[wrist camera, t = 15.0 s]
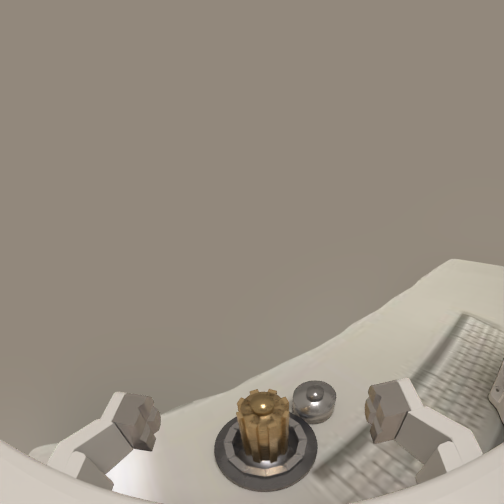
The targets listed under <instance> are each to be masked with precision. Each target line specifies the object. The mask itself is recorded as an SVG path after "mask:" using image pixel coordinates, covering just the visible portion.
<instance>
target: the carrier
mask: <svg viewBox="0 0 504 504" xmlns="http://www.w3.org/2000/svg"><path fill="white" fill-rule="evenodd" d="M214 452H215V458H216V461H217V463H218V466H219V468H220V470H221V471H222V473H223V474H224V475H225V476H226V477H227V478H228V479H229V480H230V481H231V482H233V483H234V484H236V485H238V486H240V487H242V488H245V489H248V490H252V491H258V492H270V491H277V490H281V489H284V488H287V487H290V486H292V485H294V484H295V483H297V482H299V481H300V480H301V479H302V478H304V477H305V476H306V474H307V473H308V472H309V471H310V469H311V468H312V466H313V464H314V462H315V458H316V454H317V440H316V436H315V434H314V432H313V430H312V428H311V427H310V426H309V425H308V424H307V423H306V422H305V421H304V420H303V419H301V418H300V417H298V416H297V415H295V414H292V413H290V412H289V433H288V450H287V452H286V454H285V455H283V454H281V455H280V456H279V457H278V461H277V462H274V463H270V461H261V463H257V462H254V461H253V457H252V456H251V455H246V454H245V451H244V448H243V443H242V439H241V434H240V429H239V424H238V419H237V417H235V418H234V419H232V420H231V421H229V422H228V423H227V424H226V425H225V426H224V427H223V428H222V430H221V431H220V433H219V434H218V436H217V439H216V442H215V449H214Z"/></svg>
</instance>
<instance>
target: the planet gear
mask: <svg viewBox="0 0 504 504" xmlns="http://www.w3.org/2000/svg"><path fill="white" fill-rule="evenodd" d="M237 405H238V411H239V412H236V415H237V419H238V424H239V429H240V434H241V439H242V443H243V448H244V451H245V454H246V455H251V456H252V457H253V461H254V462H257V463H261V461H270V463H274V462H277V461H278V457H279V456H280V455H281V454H283V455H285V454H286V452H287V450H288V433H289V402H288V400H287V399H286V397H283V398H280V397H279V396H278V395H277V391H275V390H271V389H269V390H268V392H259V391H258V389H257V390H253V391H250V396H248V397H247V398H246V399H244V398H240V400H239V401H238V403H237Z"/></svg>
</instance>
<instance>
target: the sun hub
mask: <svg viewBox="0 0 504 504" xmlns="http://www.w3.org/2000/svg"><path fill="white" fill-rule="evenodd" d="M335 401H336V392H335V390H334V389H333V387H332V386H330V385H329V384H327V383H325V382H322V381H308V382H305V383H302V384H301V385H299V386H298V387H297V388H296V389H295V391H294V394H293V413H294V414H295V415H297V416H298V417H300V418H301V419H303V420H304V421H305V422H306V423H307V424H318V423H322V422H324V421H326V420H327V419H328V418H330V416H331V415H332V413H333V409H334V405H335Z"/></svg>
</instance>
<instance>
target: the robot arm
mask: <svg viewBox="0 0 504 504" xmlns="http://www.w3.org/2000/svg"><path fill="white" fill-rule="evenodd" d="M368 394H369V396H370V397H369V398H368V399H367V400H366V403H365V415H366V420H367V422H368V423H369V424H371V425H372V426H371V429H370V433H371V436H372V439H373V443H374V444H377V443H382V442H386V441H390V440H395V441H396V442H397V443H398V444H399V445H400V446H402V447H403V448H404V449H405V450H406V451H408V452H409V453H410V454H411V455H413V456H414V457H415V458H416V459H417V460H419V461H420V462H421V463H422V464H424V466H423V467H422V469H421V470H420V471H419V472H418V474H417V475H416V477H415V479H416V482H417V485H414V486H411V487H408V488H405V489H402V490H399V491H396V492H392V493H389V494H386V495H382V496H378V497H374V498H370V499H366V500H362V501H357V502H353V503H348V504H504V442H503V443H502V444H500V445H498V446H497V447H495V448H493V449H492V450H490V451H488V452H487V453H485V454H483V452H482V450H481V448H480V446H479V444H478V442H477V440H476V438H475V437H474V435H473V433H472V431H471V430H470V429H468V428H466V427H464V426H462V425H461V424H459V423H457V422H455V421H453V420H451V419H450V418H448V417H446V416H444V415H442V414H441V413H439V412H437V411H435V410H433V409H432V408H430V407H428V406H426V407H424V406H423V404H422V402H421V400H420V398H419V396H418V394H417V392H416V390H415V388H414V386H413V385H412V383H411V381H410V379H409V378H408V377H407V378H403V379H399V380H393V381H389V382H385V383H380V384H376V385H371V386H370V387H369V391H368ZM488 398H489V400H490V402H491V403H492V404H493V405H494V406H495V407H496V408H497V410H498V412H499V415H500V418H501V420H502V422H503V424H504V360H503V362H502V365H501V367H500V370H499V372H498V375H497V377H496V379H495V382H494V384H493V386H492V388H491V391H490V393H489V395H488ZM153 404H154V401H153V399H152V397H150V396H144V395H137V394H130V393H123V392H115V393H114V394H113V396H112V398H111V400H110V402H109V404H108V405H107V407H106V409H105V411H104V413H103V415H102V417H101V419H97V420H95V421H93V422H92V423H91V424H89V425H87V426H85V427H84V428H82V429H81V430H79V431H77V432H76V433H74V434H72V435H71V436H69V437H68V438H66V439H64V440H62V441H61V442H59V443H58V444H57V446H56V447H55V449H54V451H53V453H52V455H51V457H50V459H49V460H48V462H47V464H46V465H45V464H43V463H41V462H39V461H37V460H35V459H34V458H32V457H30V456H28V455H26V454H24V453H23V452H21V451H19V450H17V449H15V448H14V447H12V446H11V445H9V444H7V443H6V442H4V441H3V440H1V439H0V504H162V503H157V502H152V501H148V500H143V499H139V498H135V497H131V496H128V495H124V494H120V493H117V492H114V491H112V488H113V485H114V484H113V482H112V481H111V480H110V479H109V478H108V477H107V476H106V475H105V474H106V473H108V472H109V471H110V470H111V469H112V468H113V467H114V466H116V465H117V464H118V463H119V462H120V461H121V460H122V459H123V458H124V457H126V456H127V455H128V454H129V453H130V452H131V451H132V450H133V449H139V450H146V451H152V450H153V447H154V444H155V440H156V438H155V436H154V434H155V433H156V432H157V431H159V428H160V425H161V417H160V413H159V411H158V409H157V408H155V407H154V406H153Z"/></svg>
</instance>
